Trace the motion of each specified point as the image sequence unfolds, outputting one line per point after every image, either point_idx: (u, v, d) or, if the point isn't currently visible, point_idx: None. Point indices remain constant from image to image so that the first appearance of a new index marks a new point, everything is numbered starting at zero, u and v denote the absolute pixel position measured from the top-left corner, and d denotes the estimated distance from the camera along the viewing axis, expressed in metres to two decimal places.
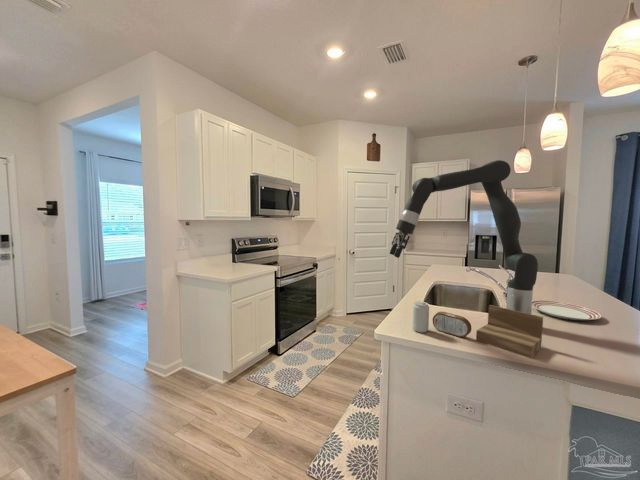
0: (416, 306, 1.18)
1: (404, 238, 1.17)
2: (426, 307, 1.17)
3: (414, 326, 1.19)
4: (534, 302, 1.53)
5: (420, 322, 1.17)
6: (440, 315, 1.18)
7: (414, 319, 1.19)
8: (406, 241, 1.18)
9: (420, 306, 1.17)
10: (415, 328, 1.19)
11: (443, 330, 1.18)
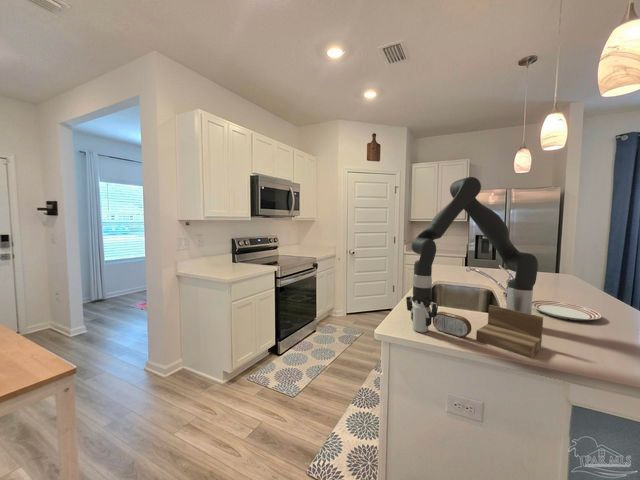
0: (416, 306, 1.18)
1: (435, 308, 1.14)
2: None
3: (414, 326, 1.19)
4: (534, 302, 1.53)
5: (420, 322, 1.17)
6: (440, 315, 1.18)
7: (414, 319, 1.19)
8: (436, 309, 1.15)
9: (420, 306, 1.17)
10: (415, 328, 1.19)
11: (443, 330, 1.18)
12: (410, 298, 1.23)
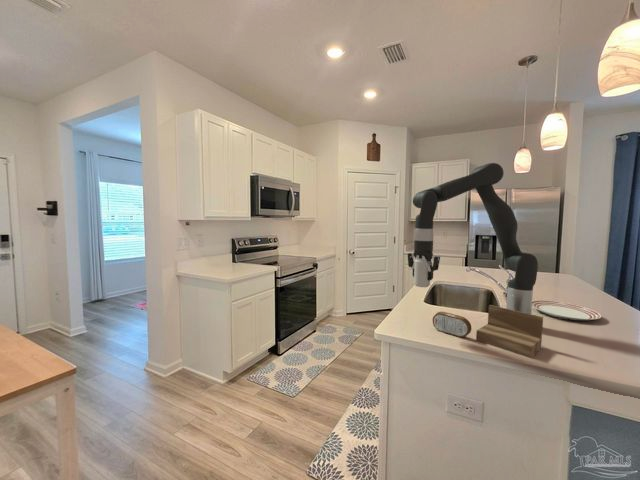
0: (417, 260, 1.16)
1: (437, 261, 1.12)
2: None
3: (415, 281, 1.18)
4: (534, 302, 1.53)
5: (422, 276, 1.15)
6: (440, 315, 1.18)
7: (415, 274, 1.17)
8: (438, 262, 1.13)
9: (421, 260, 1.15)
10: (416, 283, 1.17)
11: (443, 330, 1.18)
12: (411, 254, 1.21)
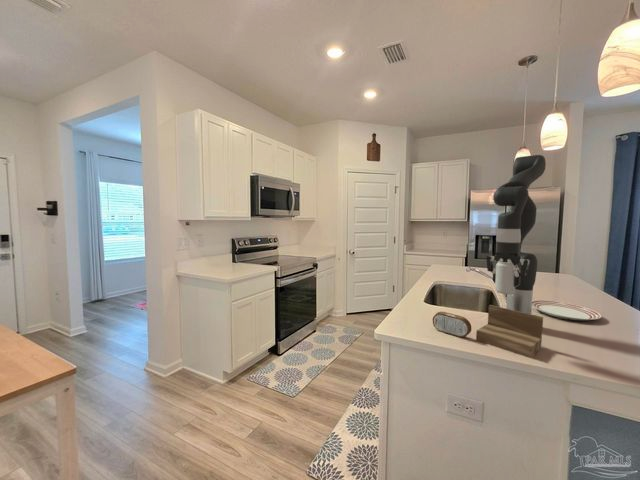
0: (501, 264, 1.04)
1: (527, 265, 1.00)
2: (514, 265, 1.03)
3: (498, 287, 1.05)
4: (534, 302, 1.53)
5: (507, 282, 1.03)
6: (440, 315, 1.18)
7: (499, 279, 1.05)
8: (528, 267, 1.01)
9: (507, 264, 1.03)
10: (500, 289, 1.05)
11: (443, 330, 1.18)
12: (491, 257, 1.09)
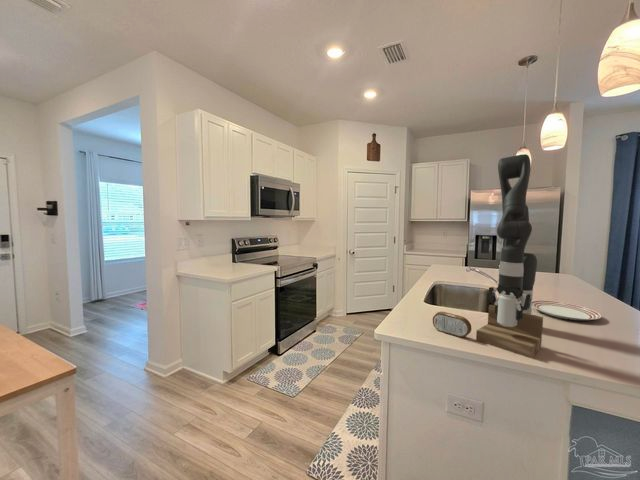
0: (504, 297, 1.05)
1: (530, 299, 1.00)
2: None
3: (501, 320, 1.06)
4: (534, 302, 1.53)
5: (509, 315, 1.04)
6: (440, 315, 1.18)
7: (501, 312, 1.06)
8: (530, 301, 1.01)
9: (510, 297, 1.03)
10: (502, 322, 1.05)
11: (443, 330, 1.18)
12: (494, 289, 1.09)
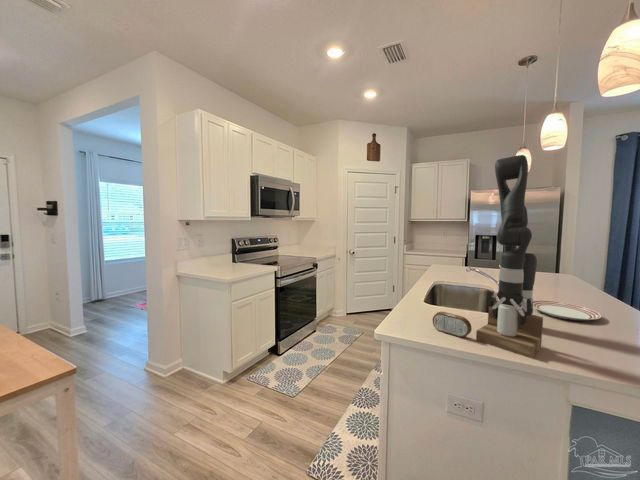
0: (504, 307, 1.05)
1: (531, 304, 1.00)
2: None
3: (501, 330, 1.06)
4: (534, 302, 1.53)
5: (509, 325, 1.04)
6: (440, 315, 1.18)
7: (501, 322, 1.06)
8: (532, 305, 1.01)
9: (509, 307, 1.04)
10: (502, 332, 1.05)
11: (443, 330, 1.18)
12: (494, 293, 1.09)
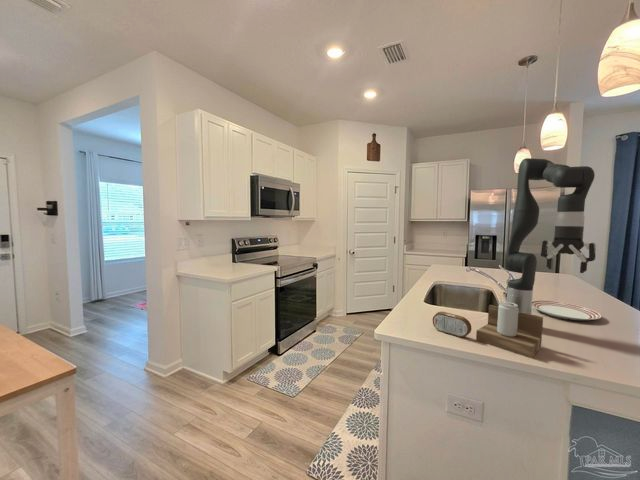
0: (504, 307, 1.05)
1: (594, 248, 0.92)
2: (516, 308, 1.04)
3: (501, 330, 1.06)
4: (534, 302, 1.53)
5: (510, 325, 1.04)
6: (440, 315, 1.18)
7: (501, 322, 1.06)
8: None
9: (510, 307, 1.04)
10: (502, 332, 1.05)
11: (443, 330, 1.18)
12: (548, 242, 1.02)
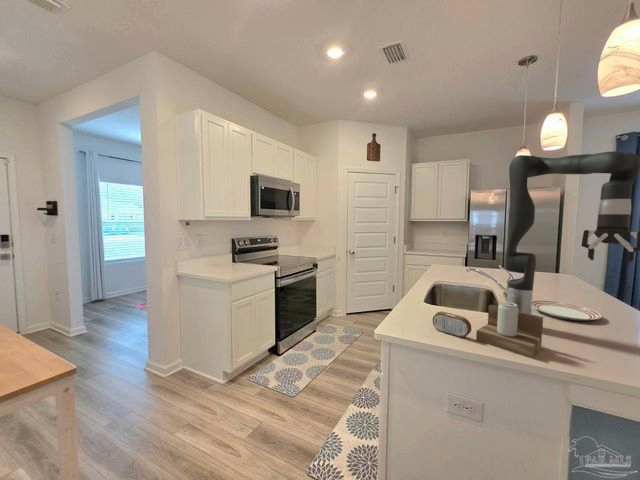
0: (504, 307, 1.05)
1: None
2: (516, 308, 1.04)
3: (501, 330, 1.06)
4: (534, 302, 1.53)
5: (509, 325, 1.04)
6: (440, 315, 1.18)
7: (501, 322, 1.06)
8: None
9: (509, 307, 1.04)
10: (502, 332, 1.05)
11: (443, 330, 1.18)
12: (590, 232, 0.97)
